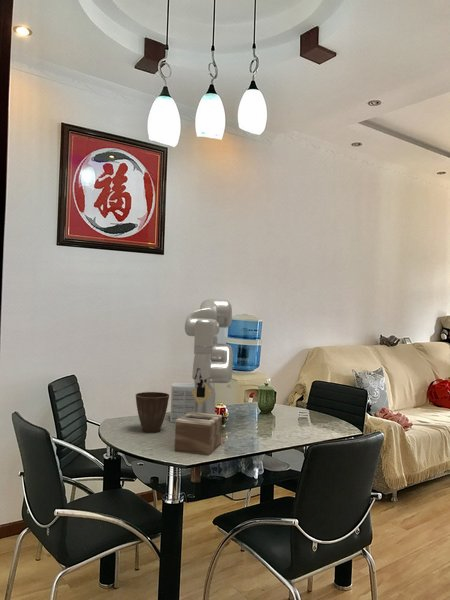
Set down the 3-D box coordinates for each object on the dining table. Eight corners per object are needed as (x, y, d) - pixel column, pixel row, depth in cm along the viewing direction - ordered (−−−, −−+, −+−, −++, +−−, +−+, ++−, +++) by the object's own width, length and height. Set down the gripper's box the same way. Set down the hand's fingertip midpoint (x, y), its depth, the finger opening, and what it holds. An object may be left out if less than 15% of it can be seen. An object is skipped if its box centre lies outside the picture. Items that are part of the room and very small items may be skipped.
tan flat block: (213, 395, 204) (200, 403, 205) (205, 382, 205) (192, 390, 206) (211, 396, 202) (198, 404, 203) (203, 383, 203) (190, 391, 204)
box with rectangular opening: (188, 440, 214) (189, 411, 214) (220, 444, 210) (221, 415, 210) (174, 450, 198) (175, 419, 199) (209, 455, 195) (210, 423, 195)
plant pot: (127, 431, 225) (128, 395, 225) (147, 424, 238) (148, 390, 238) (155, 436, 218) (156, 399, 218) (174, 429, 231) (175, 394, 231)
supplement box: (171, 416, 258) (172, 381, 258) (197, 417, 259) (198, 382, 259) (169, 422, 245) (171, 386, 245) (197, 423, 245) (198, 386, 245)
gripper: (200, 348, 213) (198, 392, 213) (187, 351, 198) (185, 399, 197) (218, 349, 211) (216, 394, 211) (206, 352, 196) (204, 400, 195)
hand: (201, 396), depth 204 cm, fingers closed on tan flat block, 2 cm apart
